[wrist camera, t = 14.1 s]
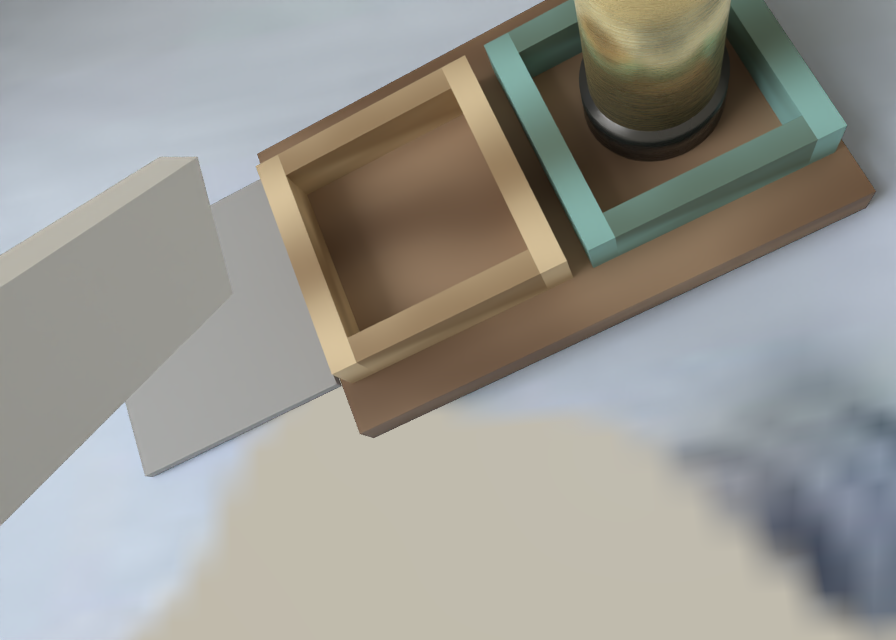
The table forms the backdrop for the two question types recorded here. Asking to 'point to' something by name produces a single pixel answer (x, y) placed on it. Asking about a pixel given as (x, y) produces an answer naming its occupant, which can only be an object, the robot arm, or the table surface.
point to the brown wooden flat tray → (534, 207)
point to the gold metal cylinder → (653, 73)
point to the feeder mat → (235, 348)
